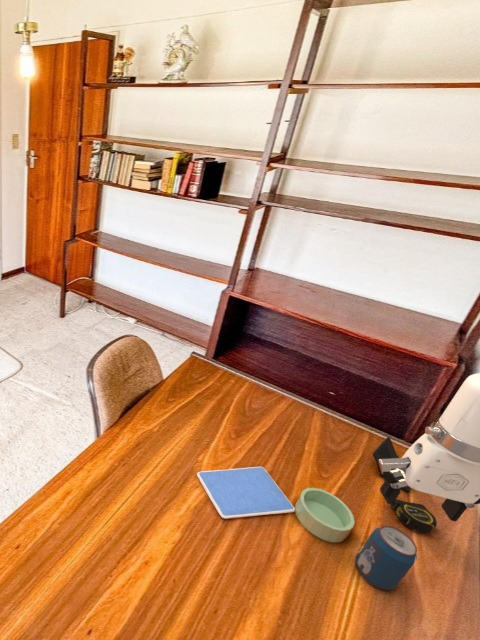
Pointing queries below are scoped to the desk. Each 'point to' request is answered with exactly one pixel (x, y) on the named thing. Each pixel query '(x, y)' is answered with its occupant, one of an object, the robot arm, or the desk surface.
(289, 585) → the desk surface
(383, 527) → the soda can
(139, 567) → the desk surface
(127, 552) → the desk surface
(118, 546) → the desk surface
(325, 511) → the bowl
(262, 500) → the tablet
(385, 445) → the handheld gaming console
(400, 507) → the tape measure
